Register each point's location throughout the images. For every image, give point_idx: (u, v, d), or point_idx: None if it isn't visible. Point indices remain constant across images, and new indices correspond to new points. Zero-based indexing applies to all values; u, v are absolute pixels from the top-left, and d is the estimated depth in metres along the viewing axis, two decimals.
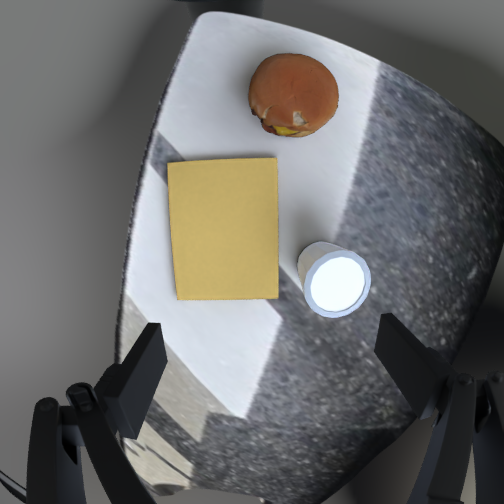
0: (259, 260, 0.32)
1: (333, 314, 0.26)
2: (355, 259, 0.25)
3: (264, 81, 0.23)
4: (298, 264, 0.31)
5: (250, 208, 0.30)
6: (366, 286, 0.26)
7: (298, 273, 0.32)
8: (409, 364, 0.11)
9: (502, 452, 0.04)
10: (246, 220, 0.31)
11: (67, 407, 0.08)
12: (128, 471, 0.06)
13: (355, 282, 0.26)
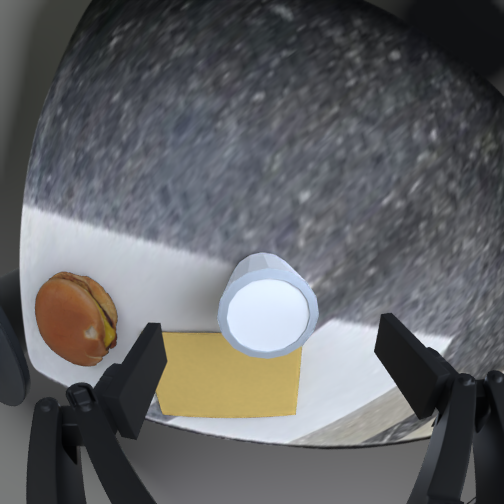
0: None
1: (312, 319, 0.19)
2: (230, 298, 0.18)
3: (68, 358, 0.22)
4: None
5: (197, 359, 0.27)
6: (273, 275, 0.18)
7: None
8: (409, 364, 0.11)
9: (502, 452, 0.04)
10: (210, 363, 0.27)
11: (67, 407, 0.08)
12: (128, 471, 0.06)
13: (265, 293, 0.18)
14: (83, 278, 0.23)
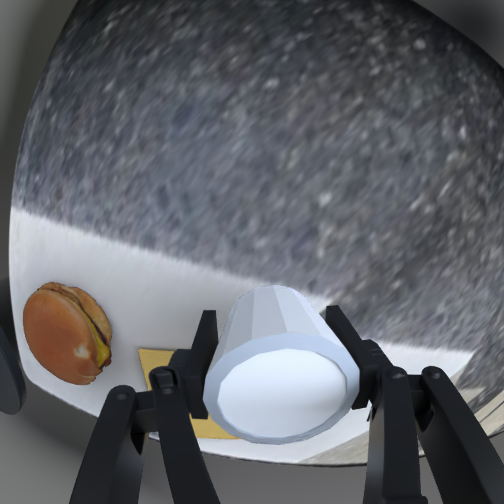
0: None
1: (349, 397, 0.11)
2: (222, 376, 0.10)
3: (59, 376, 0.19)
4: None
5: None
6: (294, 343, 0.10)
7: None
8: None
9: (459, 451, 0.05)
10: None
11: (141, 393, 0.10)
12: (196, 457, 0.07)
13: (280, 368, 0.10)
14: (73, 290, 0.20)
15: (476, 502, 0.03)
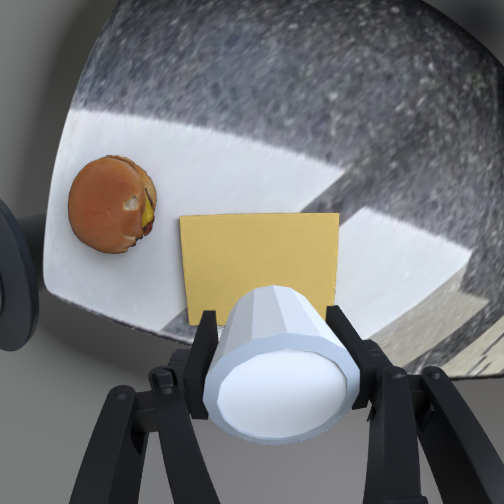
0: (293, 234, 0.28)
1: (350, 398, 0.11)
2: (222, 377, 0.10)
3: (97, 241, 0.24)
4: None
5: (236, 245, 0.28)
6: (294, 344, 0.10)
7: None
8: None
9: (459, 451, 0.05)
10: (248, 248, 0.28)
11: (141, 393, 0.10)
12: (196, 457, 0.07)
13: (280, 369, 0.10)
14: (128, 159, 0.25)
15: (476, 502, 0.03)
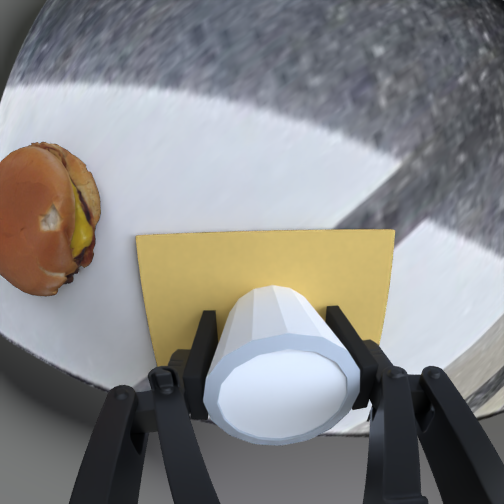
0: (324, 266, 0.16)
1: (350, 398, 0.11)
2: (222, 377, 0.10)
3: (15, 279, 0.12)
4: None
5: (228, 283, 0.17)
6: (294, 344, 0.10)
7: None
8: None
9: (459, 451, 0.05)
10: (249, 289, 0.17)
11: (141, 393, 0.10)
12: (195, 457, 0.07)
13: (281, 369, 0.10)
14: (58, 146, 0.13)
15: (476, 502, 0.03)
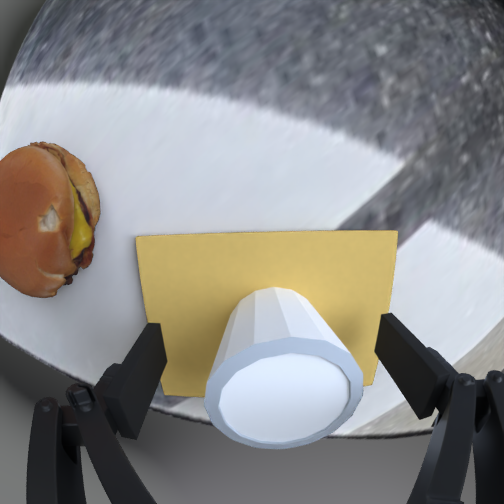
0: (326, 267, 0.16)
1: (353, 402, 0.10)
2: (224, 382, 0.10)
3: (14, 280, 0.12)
4: None
5: (229, 285, 0.16)
6: (297, 348, 0.10)
7: None
8: (409, 364, 0.11)
9: (502, 452, 0.04)
10: (251, 291, 0.16)
11: (67, 407, 0.08)
12: (128, 471, 0.06)
13: (283, 373, 0.10)
14: (57, 146, 0.13)
15: None
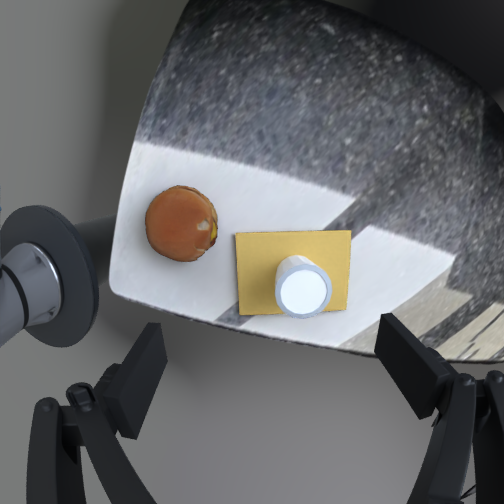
0: (318, 246, 0.38)
1: (329, 293, 0.32)
2: (283, 281, 0.32)
3: (174, 252, 0.34)
4: None
5: (277, 254, 0.38)
6: (307, 268, 0.31)
7: None
8: (409, 364, 0.11)
9: (502, 452, 0.04)
10: (286, 257, 0.38)
11: (67, 407, 0.08)
12: (128, 471, 0.06)
13: (303, 278, 0.32)
14: (195, 189, 0.35)
15: None
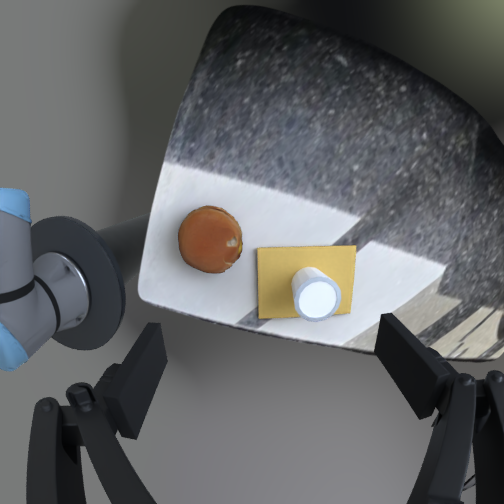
0: (328, 259, 0.44)
1: (338, 300, 0.38)
2: (301, 291, 0.37)
3: (206, 266, 0.40)
4: None
5: (293, 266, 0.44)
6: (321, 279, 0.37)
7: None
8: (409, 364, 0.11)
9: (502, 452, 0.04)
10: (300, 268, 0.44)
11: (67, 407, 0.08)
12: (128, 471, 0.06)
13: (317, 288, 0.38)
14: (223, 209, 0.41)
15: None
